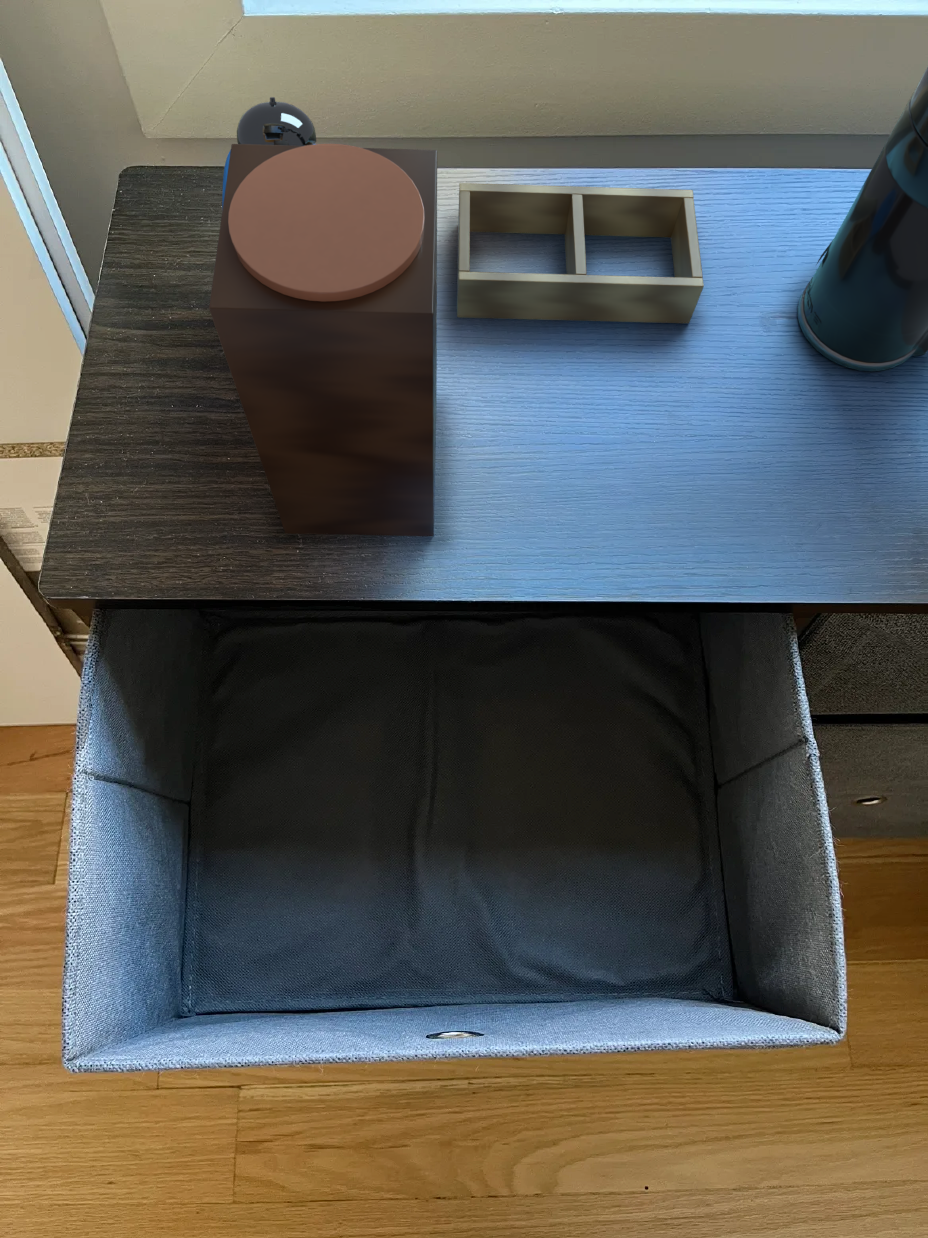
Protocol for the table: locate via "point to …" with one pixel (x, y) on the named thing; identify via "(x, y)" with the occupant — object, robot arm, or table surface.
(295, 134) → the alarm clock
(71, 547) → the table surface
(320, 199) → the coaster
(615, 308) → the rack
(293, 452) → the stand
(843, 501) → the table surface
